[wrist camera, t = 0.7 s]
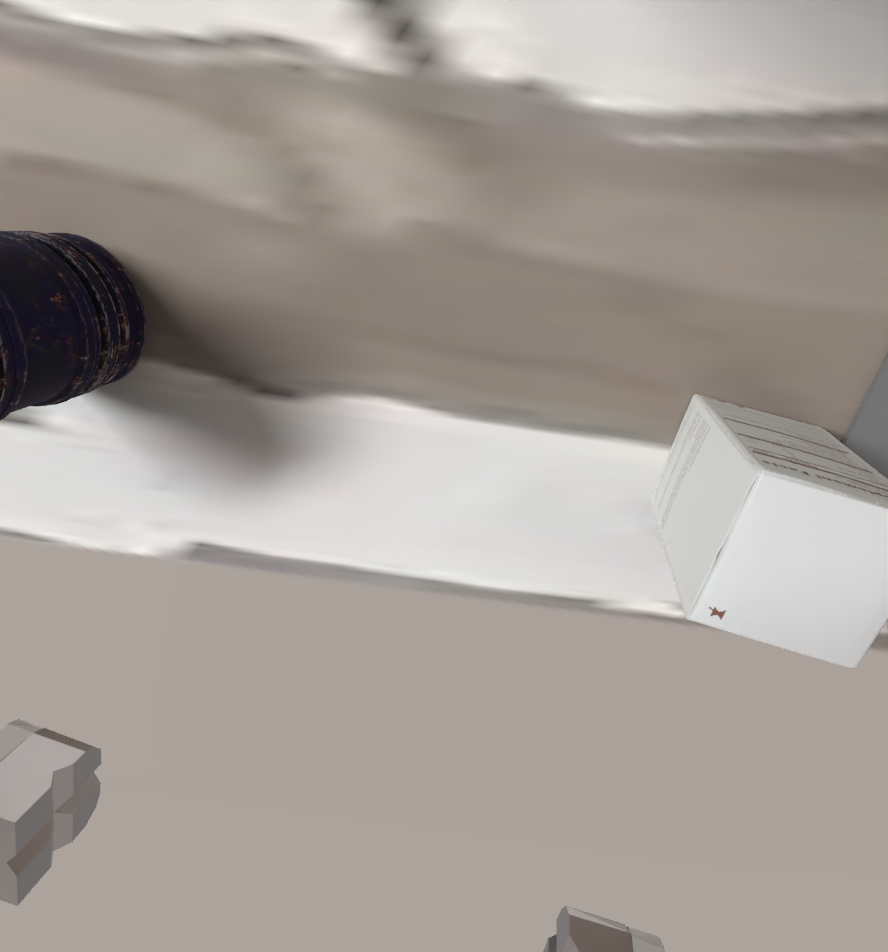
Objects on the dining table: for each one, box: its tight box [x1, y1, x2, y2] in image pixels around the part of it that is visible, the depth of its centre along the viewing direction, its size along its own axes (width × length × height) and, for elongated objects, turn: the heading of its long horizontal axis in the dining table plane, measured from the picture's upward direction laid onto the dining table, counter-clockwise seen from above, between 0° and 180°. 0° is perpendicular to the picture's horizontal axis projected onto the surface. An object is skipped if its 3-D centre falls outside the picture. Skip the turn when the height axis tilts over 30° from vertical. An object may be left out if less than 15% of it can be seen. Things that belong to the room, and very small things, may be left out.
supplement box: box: [649, 394, 888, 669], centre depth 30 cm, size 7×7×13 cm
